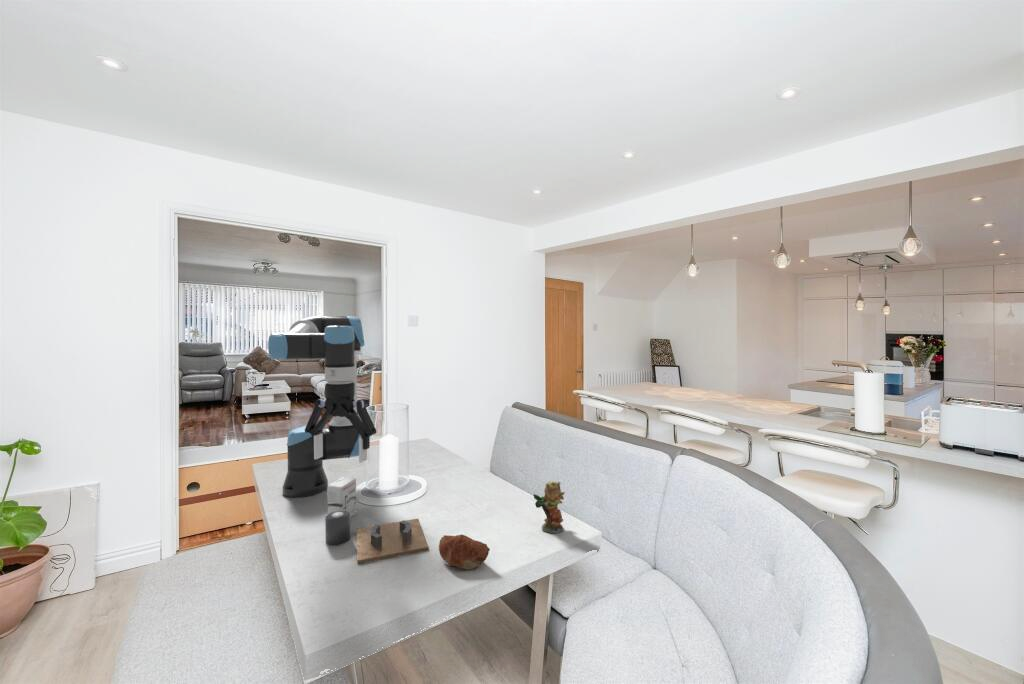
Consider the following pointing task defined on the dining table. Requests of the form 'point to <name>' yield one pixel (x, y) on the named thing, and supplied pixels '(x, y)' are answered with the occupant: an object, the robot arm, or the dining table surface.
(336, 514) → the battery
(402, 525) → the brown cardboard plate
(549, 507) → the figurine
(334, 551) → the dining table surface
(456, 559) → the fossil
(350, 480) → the ink box
